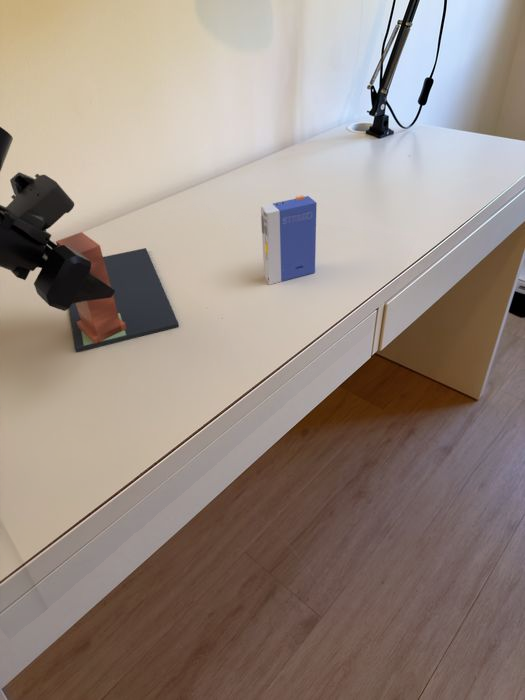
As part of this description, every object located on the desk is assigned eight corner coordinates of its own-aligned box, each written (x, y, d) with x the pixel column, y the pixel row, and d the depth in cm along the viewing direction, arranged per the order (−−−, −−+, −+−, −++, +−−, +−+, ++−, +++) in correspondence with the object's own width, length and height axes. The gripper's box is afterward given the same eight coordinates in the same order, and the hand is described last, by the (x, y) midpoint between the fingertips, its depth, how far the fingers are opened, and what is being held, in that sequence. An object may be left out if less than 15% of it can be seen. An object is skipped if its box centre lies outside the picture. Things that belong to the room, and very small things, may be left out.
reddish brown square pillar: (94, 344, 70) (67, 257, 62) (78, 327, 73) (50, 242, 65) (126, 329, 72) (104, 243, 64) (109, 313, 75) (86, 230, 67)
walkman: (307, 265, 85) (308, 193, 77) (315, 273, 83) (316, 200, 75) (262, 276, 83) (258, 203, 75) (269, 284, 81) (266, 211, 73)
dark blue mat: (179, 326, 73) (178, 321, 73) (76, 352, 70) (74, 347, 69) (146, 250, 91) (145, 246, 90) (63, 268, 87) (61, 263, 87)
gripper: (46, 184, 49) (165, 249, 62) (-18, 141, 61) (92, 204, 73) (-8, 287, 51) (119, 331, 63) (-61, 226, 62) (55, 273, 74)
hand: (96, 279), depth 68 cm, fingers open, 9 cm apart
